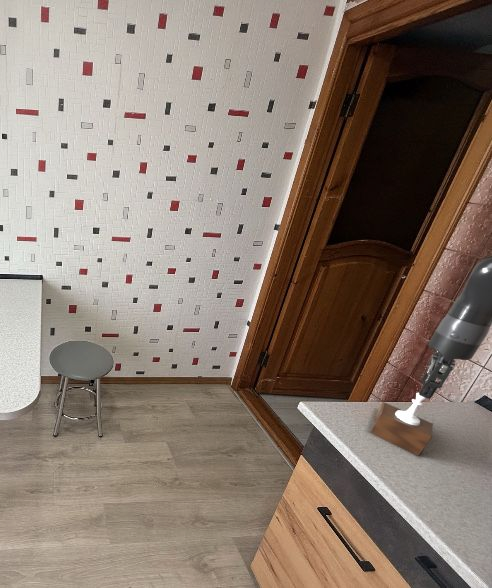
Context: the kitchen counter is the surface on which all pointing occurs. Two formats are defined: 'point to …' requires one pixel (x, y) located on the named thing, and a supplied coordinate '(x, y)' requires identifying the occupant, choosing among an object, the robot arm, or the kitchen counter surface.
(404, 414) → the chess piece
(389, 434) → the wood grain box
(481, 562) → the kitchen counter surface
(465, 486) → the kitchen counter surface
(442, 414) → the kitchen counter surface
